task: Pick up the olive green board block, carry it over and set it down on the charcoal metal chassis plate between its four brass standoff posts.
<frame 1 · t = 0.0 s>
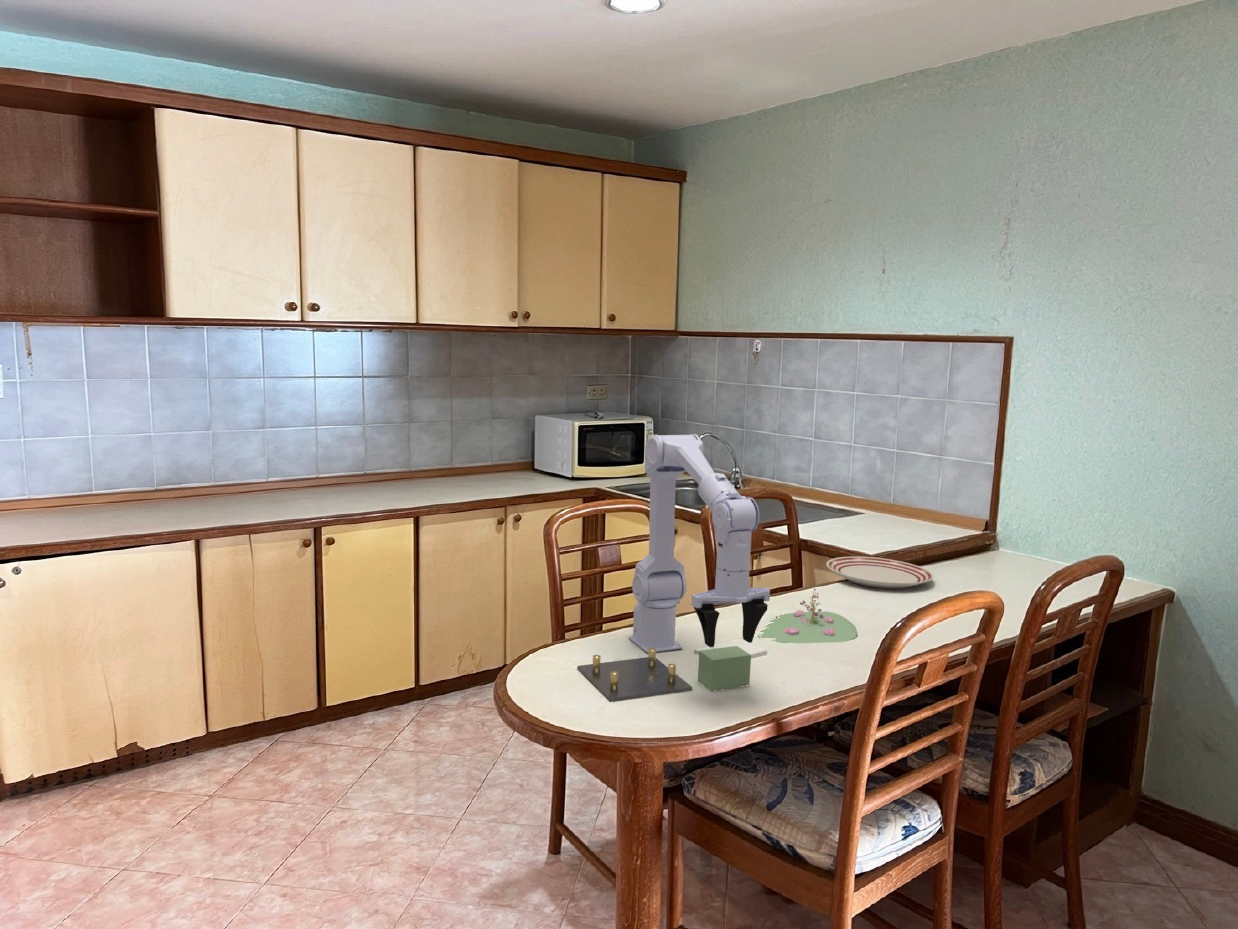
hand: (728, 643, 160), 10 cm above the table, tool pointing down, fingers open, 7 cm apart
board block: (723, 684, 168), on the table
chassis: (633, 679, 169), on the table
plant: (802, 633, 200), on the table
external hard drive: (730, 657, 184), on the table
dinner plate: (878, 580, 243), on the table
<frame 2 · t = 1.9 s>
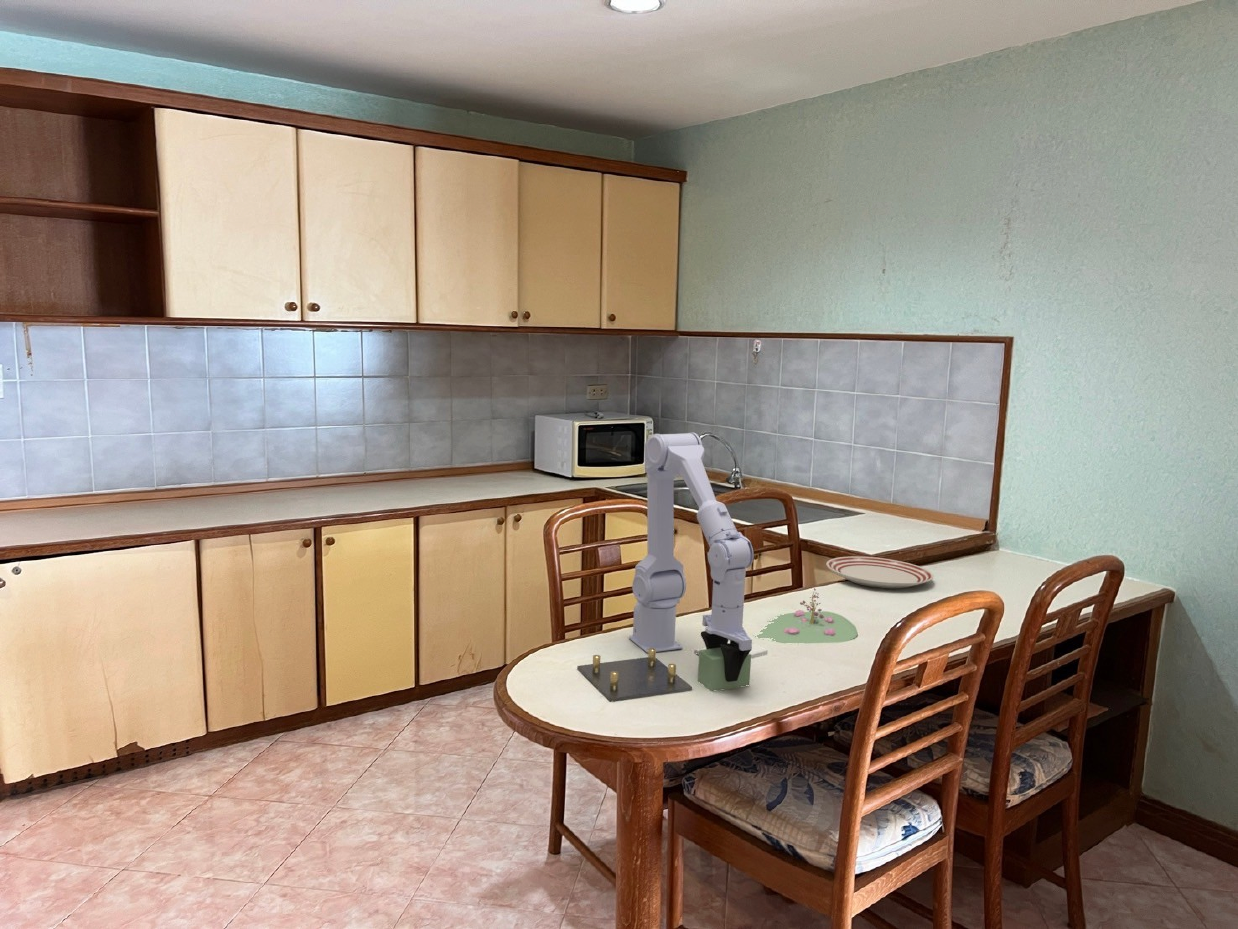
hand: (723, 675, 168), 2 cm above the table, tool pointing down, fingers closed on board block, 5 cm apart
board block: (723, 683, 168), on the table, touching gripper
everything else where it was.
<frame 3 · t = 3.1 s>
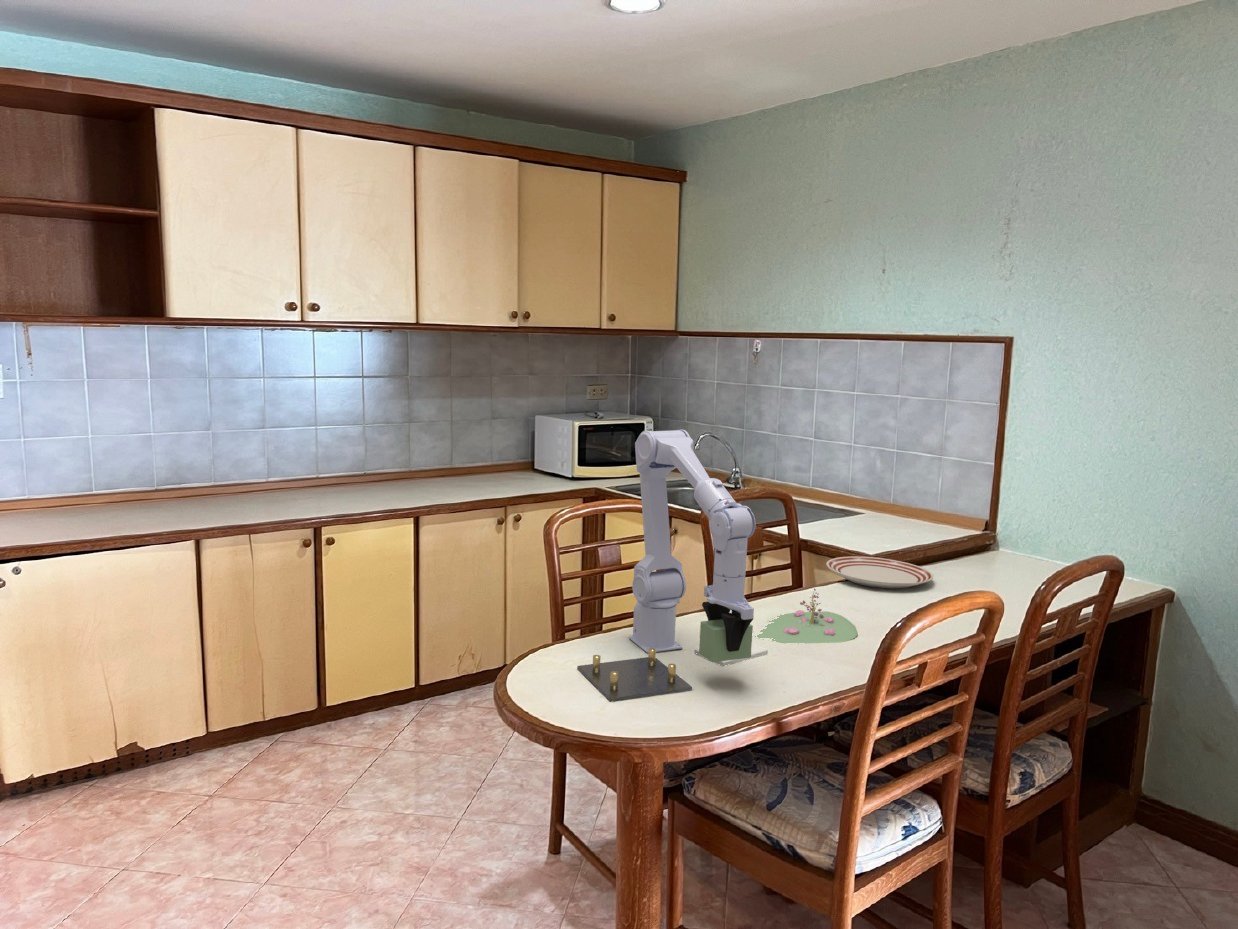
hand: (725, 645, 167), 7 cm above the table, tool pointing down, fingers closed on board block, 5 cm apart
board block: (724, 655, 168), point 5 cm above the table, touching gripper
everything else where it was.
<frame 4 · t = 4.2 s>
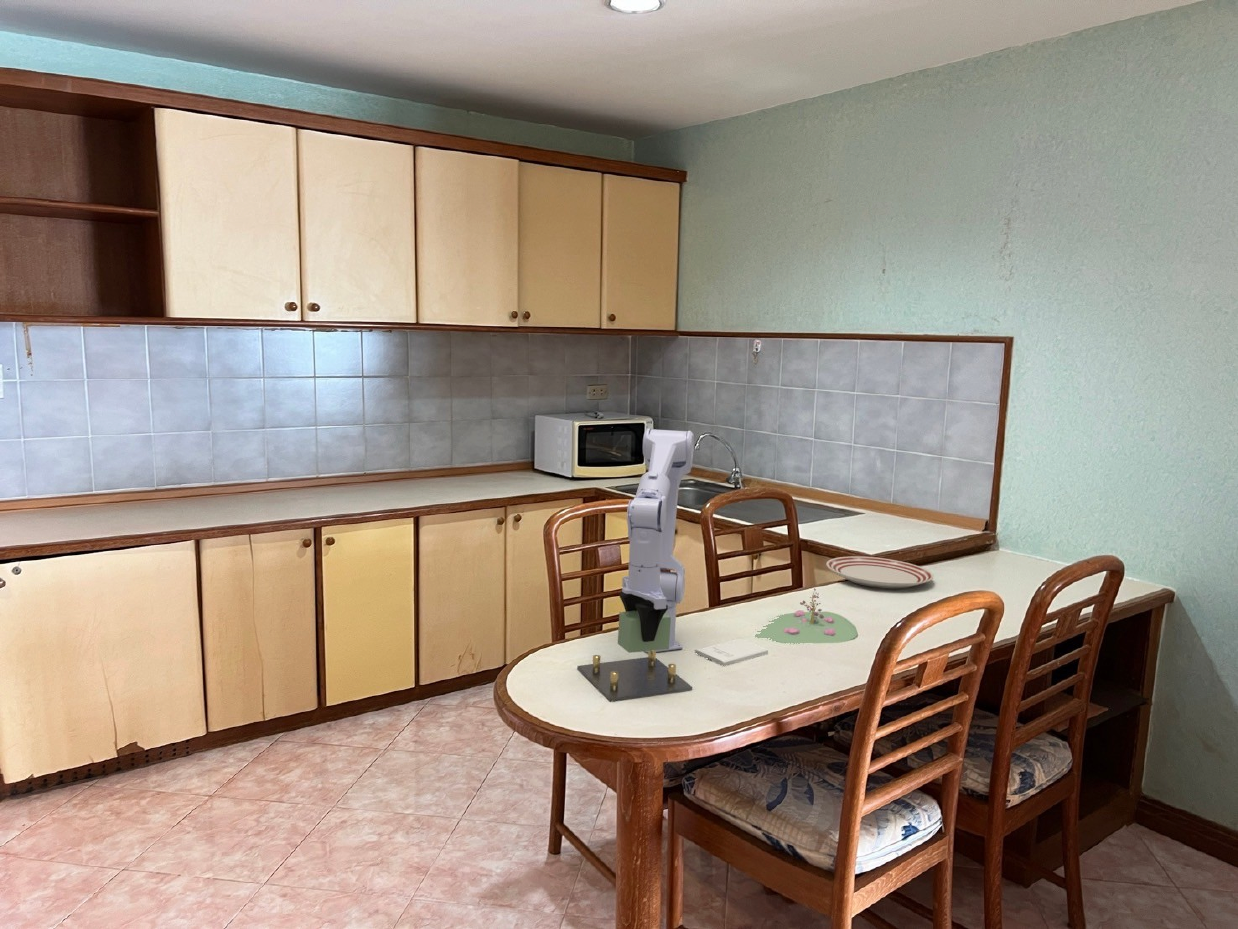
hand: (641, 635, 167), 8 cm above the table, tool pointing down, fingers closed on board block, 5 cm apart
board block: (643, 646, 168), point 6 cm above the table, touching gripper
everything else where it was.
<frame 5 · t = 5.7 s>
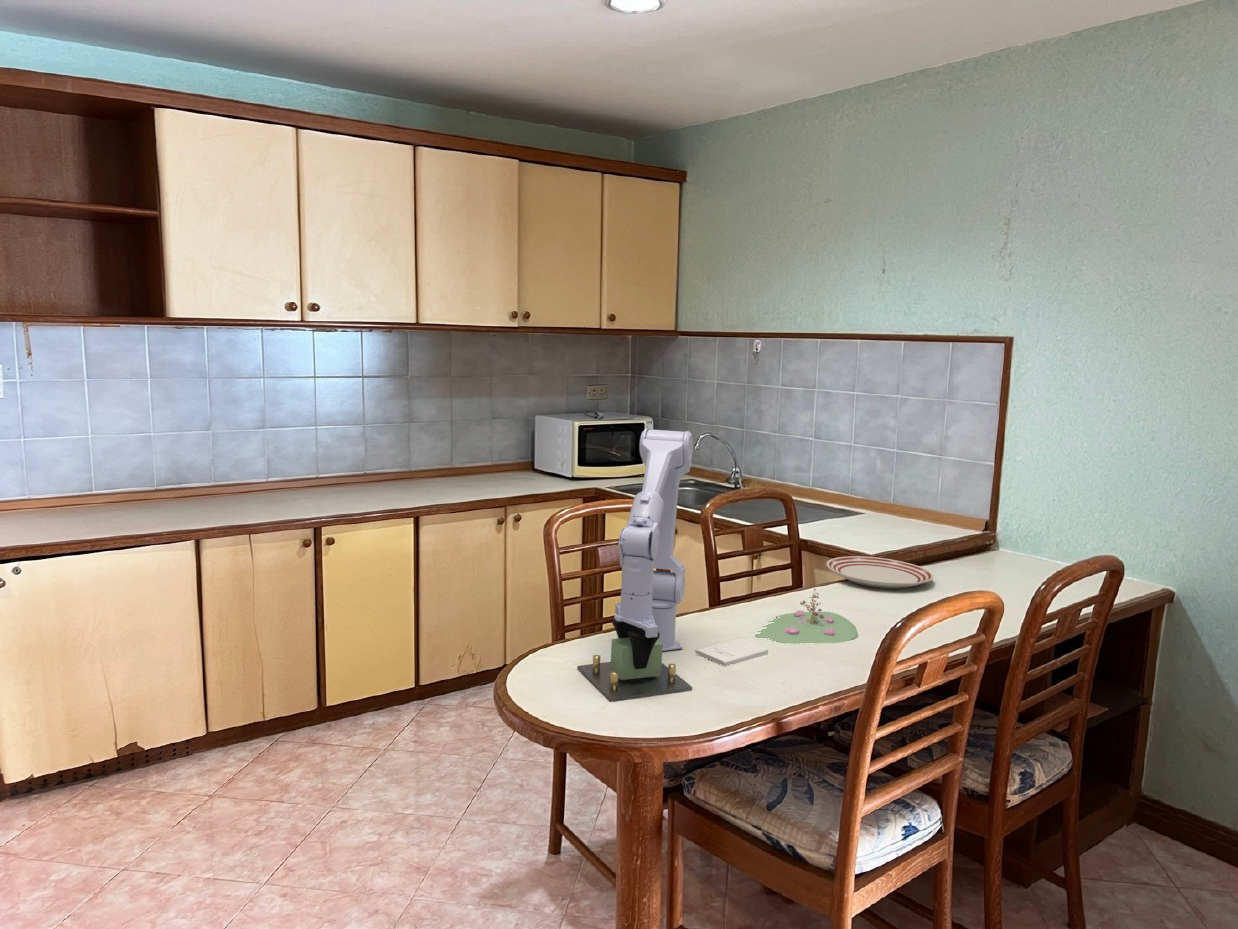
hand: (634, 662, 168), 3 cm above the table, tool pointing down, fingers closed on board block, 5 cm apart
board block: (635, 672, 169), point 1 cm above the table, touching gripper
everything else where it was.
when the fingers open (3 cm above the table, at t = 6.5 s): board block stays where it is, resting on chassis.
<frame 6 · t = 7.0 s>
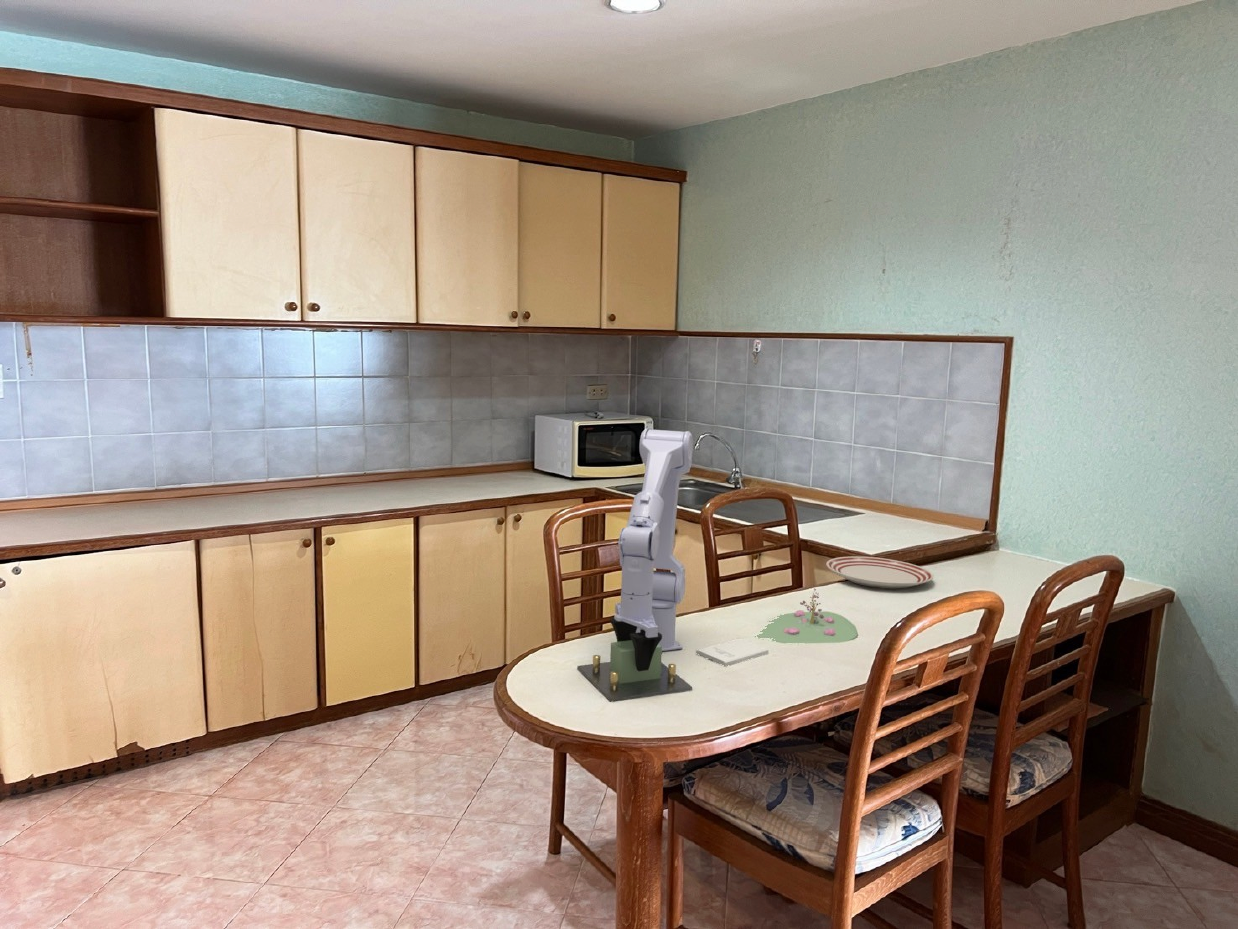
hand: (634, 662, 168), 3 cm above the table, tool pointing down, fingers open, 7 cm apart
board block: (635, 676, 169), point 1 cm above the table, touching chassis
everything else where it was.
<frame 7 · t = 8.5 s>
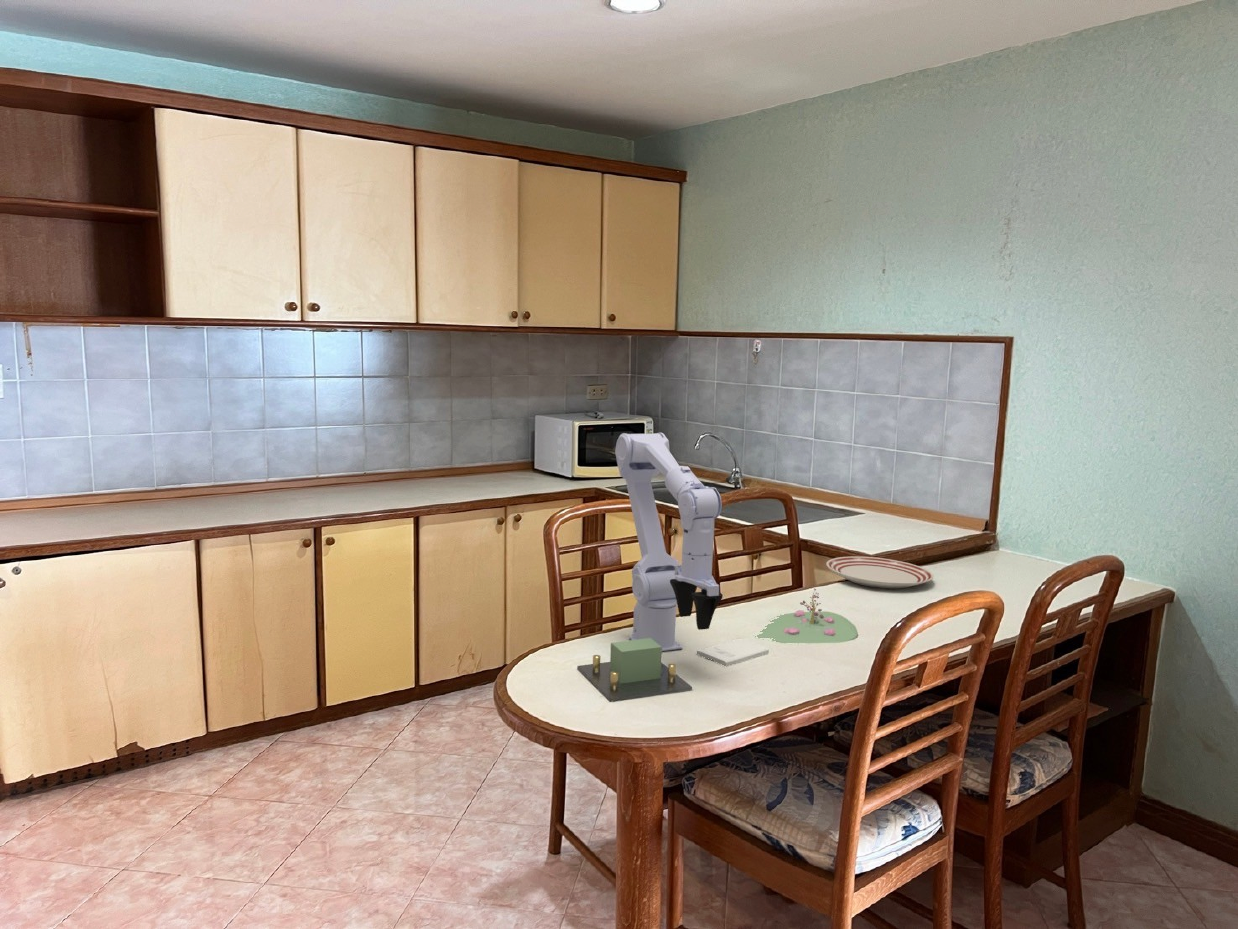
hand: (693, 622, 173), 9 cm above the table, tool pointing down, fingers open, 7 cm apart
nothing on the table moved.
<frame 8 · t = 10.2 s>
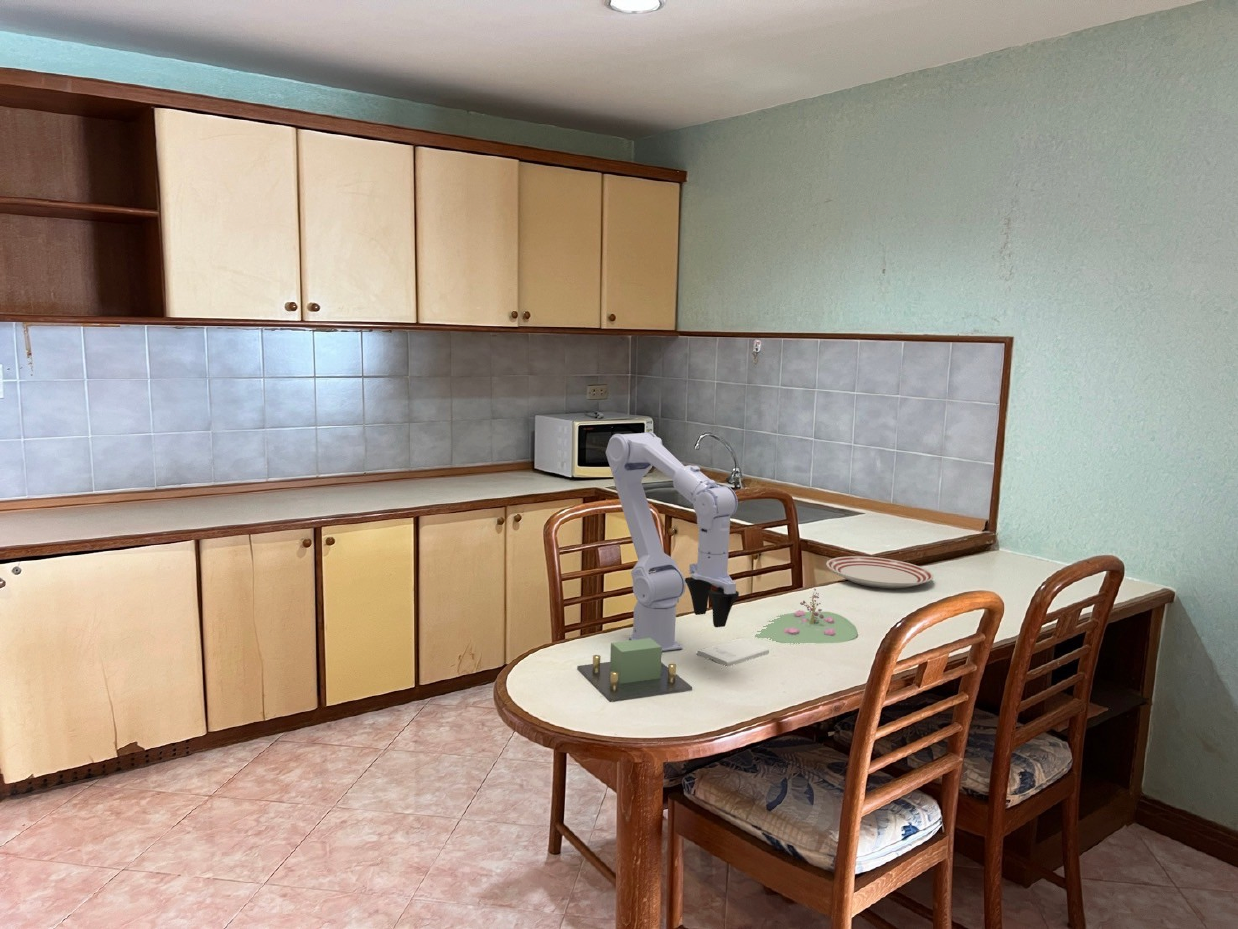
hand: (709, 620, 175), 9 cm above the table, tool pointing down, fingers open, 7 cm apart
nothing on the table moved.
at the end: board block 0.3 cm off-centre on the chassis, point 0.6 cm above the chassis's base; board block tilted 0°; the gripper is holding nothing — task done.
